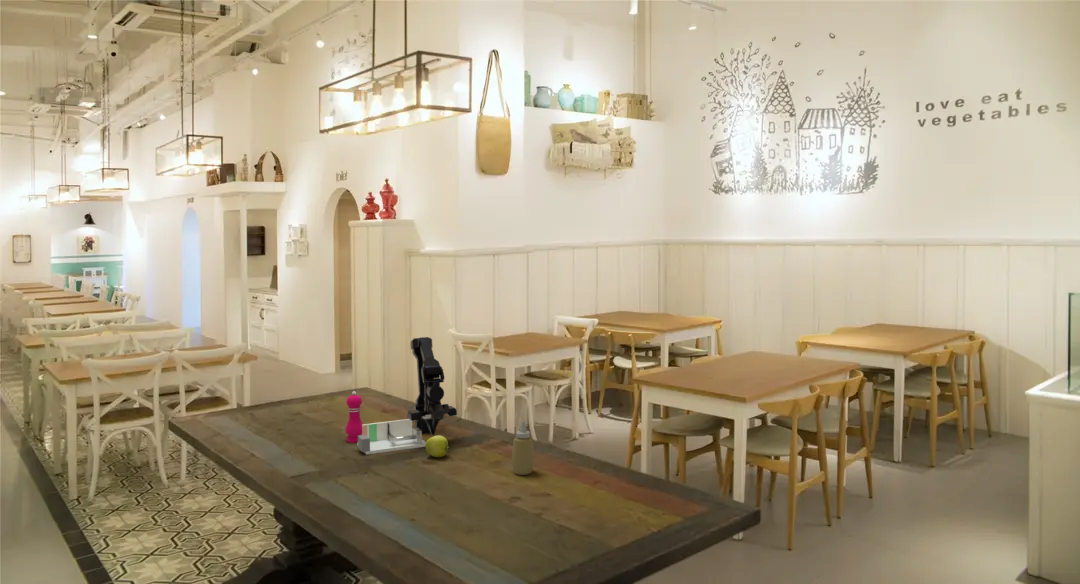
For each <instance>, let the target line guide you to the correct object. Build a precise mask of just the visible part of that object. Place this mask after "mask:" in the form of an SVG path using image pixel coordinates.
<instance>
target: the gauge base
mask: <svg viewBox="0 0 1080 584" xmlns="http://www.w3.org/2000/svg"><path fill="white" fill-rule="evenodd" d="M387 424H389V431H390V433H391V434H392V435H393V436H394V437H402V436H410V435H413V421H412V420H410V419H409V418H406V419H398V420H389V421H382V422H381V421H380V422H373V423H363V425H362V435H359V436H358V442H356V445H357V447H358V450H359V451H361V452H362V453H363V454H365V455H366V456H367V455H373V454H380V453H381V454H382V453H389V452H396V451H397V452H398V451H404V450H411V449H417V448H426V447H425V444H426V441H425V440H424V439H422V443H418V444H417V443H416V442H414V441H413V439H411V440H404V441H396V442H390V441H389V438H390V437H388V436H387V433H388V426H387Z"/></svg>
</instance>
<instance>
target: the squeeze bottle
mask: <svg viewBox="0 0 1080 584" xmlns="http://www.w3.org/2000/svg"><path fill="white" fill-rule="evenodd" d="M530 434H531V433H530V431H528V430H527V426H526V422H525V421H520V425H519V429H518V430H517V431H516V434H515V436H516V437H514V438H513V442H512V443H513V444H512V452H511V453H512V454H511V466H512V468H513V471H514V474H516V475H520V476H521V475H523V476H525V475H530V474H531V473H532V472H533V469H534V465H535V462H536V461H535V454H534V453H535V452H534V451H535V450H534V442H533V438H531V435H530Z"/></svg>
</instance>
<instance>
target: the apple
mask: <svg viewBox="0 0 1080 584" xmlns="http://www.w3.org/2000/svg"><path fill="white" fill-rule="evenodd" d="M425 442H426V444H425V447H424V448H425V452H426V453H428V455H430V456H431V457H435V458H443V457H444V456H445V455H446V454H447V452H448V450H449V448H450V447H449V442H448V439H447V438H446V437H445V436H443V435H434V436H433V435H432V436H431V437H430V438H428V439H427V440H426V441H425Z"/></svg>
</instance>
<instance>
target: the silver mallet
mask: <svg viewBox="0 0 1080 584" xmlns="http://www.w3.org/2000/svg"><path fill="white" fill-rule="evenodd" d="M387 426H388V433H387V436H388V437H390V438H389V441H390V442H396V441H404V440H411V439H413V441H414V442H416V443H417V444H418V443H422V440H423V434H422V431H421V430H420V429H419V428H415V427H414V428H413V427H412V435H410V436H402V437H394V436H393V435H392V434H391V433H390V431H389V424H387Z"/></svg>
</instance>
